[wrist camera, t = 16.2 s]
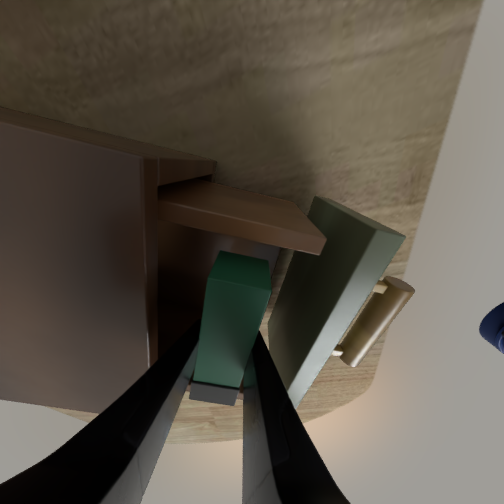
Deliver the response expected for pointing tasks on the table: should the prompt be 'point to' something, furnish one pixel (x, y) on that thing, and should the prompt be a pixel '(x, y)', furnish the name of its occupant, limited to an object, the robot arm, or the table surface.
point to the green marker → (229, 325)
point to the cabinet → (79, 259)
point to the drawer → (296, 279)
